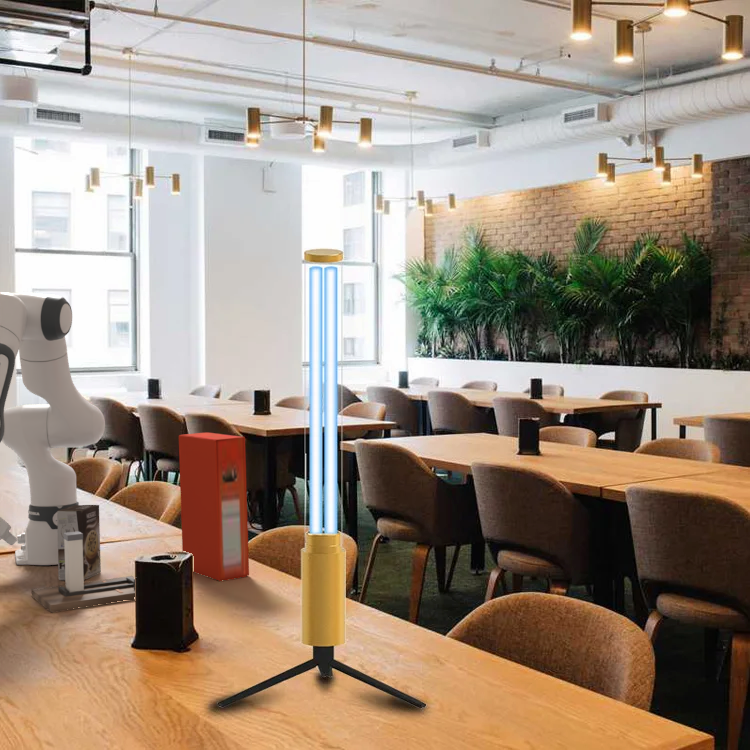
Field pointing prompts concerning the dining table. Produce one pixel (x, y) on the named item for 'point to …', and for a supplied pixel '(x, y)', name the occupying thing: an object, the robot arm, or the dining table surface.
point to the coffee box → (88, 524)
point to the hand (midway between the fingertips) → (13, 541)
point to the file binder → (214, 504)
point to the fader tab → (74, 561)
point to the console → (86, 594)
